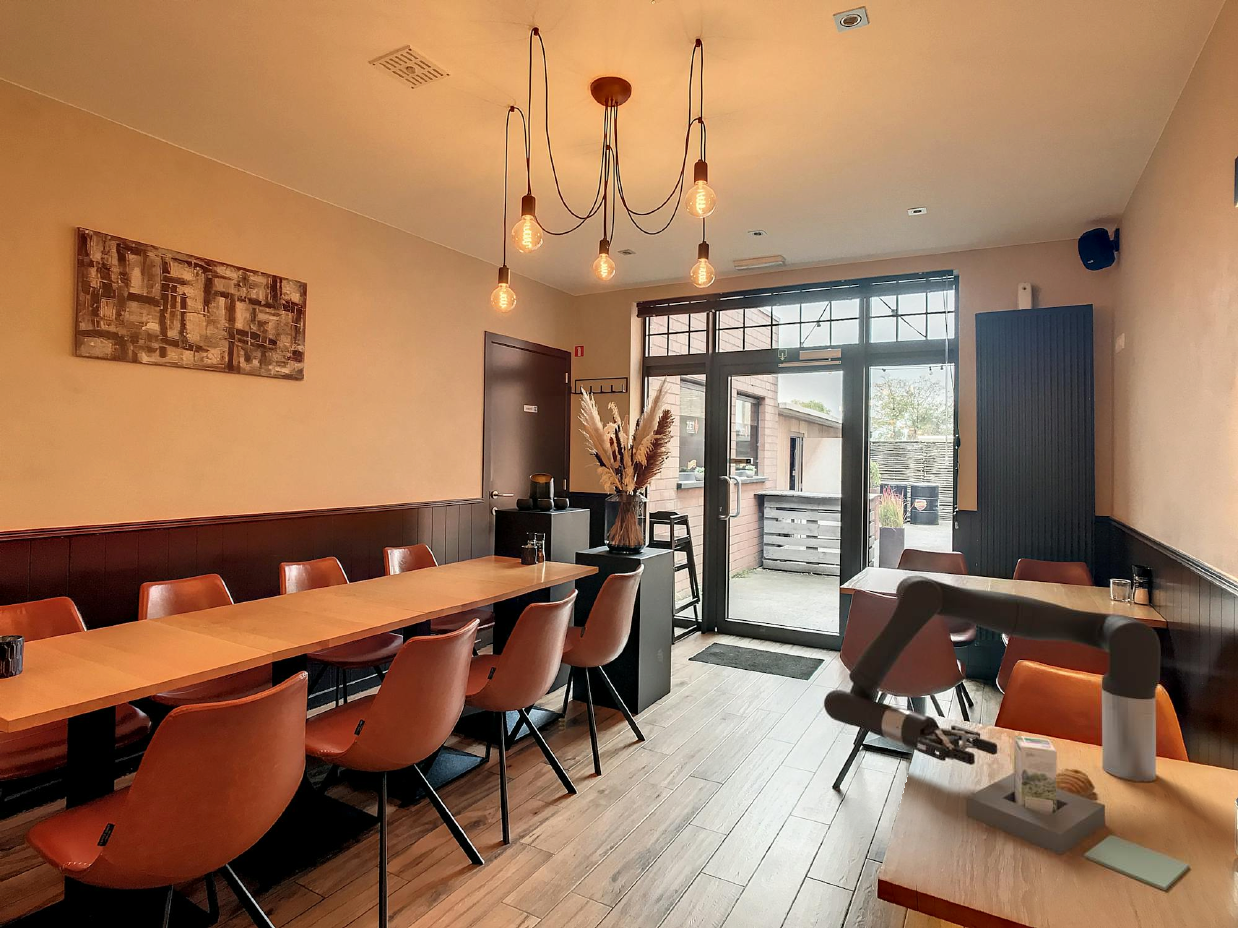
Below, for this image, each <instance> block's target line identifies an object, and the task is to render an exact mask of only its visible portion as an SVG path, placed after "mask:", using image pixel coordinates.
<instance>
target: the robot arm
mask: <svg viewBox="0 0 1238 928" xmlns="http://www.w3.org/2000/svg"><path fill="white" fill-rule="evenodd" d="M895 593H896V600H897V602H898V603H897V605H896V608H895V609H894V611H893V614H892V615H891V617H890V619H889V620H888V622H887V623H886V624H885V626H884V627H883V628H882V630H881V631H880V632H879V633H878V634H877V636H875V638H874V639H872V641H870V643H869V644H868V645H867V647H866V648H865V649H864V651H863V652H862V653H861V655H860V656H859V657H858V659H857V661H856V662H855V663H854V665H853V667H852V668H851V670H850V672H849V674H848V676H849V677H848V678H849V680H850V681H851V682H852V685H851V688H850V691H846V690H843V689H833V690H831V691H829V692H828V693H827V694H826V696H825V697H824V701H823V707H824V710H825V712H826V714H827V715H828V717H830V718H831V719H832V720H834V721H837V722H839V723H843V724H845V725H848V726H854V727H857V728H860V729H864V730H866V731H867V732H870V733H871V734H874V735H877V736H879V737H882V738H884V739H888V740H889V741H892V742H893V743H895V744H898V745H900V746H903V747H905V748H906V747H907V748H908V749H909V748H910V749H912V750H915V751H917V752H919V753H921V754H924V755H926V756H929V757H932V758H935V759H937V760H939V761H942V762H945V761H946V759H948V760H950V761H953V760H955V761H958V762H961V763H964V764H967V765H970V766H972V765H974V764H975V761H976V760H975V759H976V757H975V756H976V755H975V754H974V753H973V752H971V751H968V750H967V749H976V750H978V751H980V752H983V753H987V754H989V755H993V756H994V755H997V753H998V744H997V743H996V742H993V741H991V740H987V739H985V738H981V732H979V731H975V730H971V729H968V728H964V727H961V726H957V725H950V728H949V727H947V728H946V727H942V728H941V727H940V726H939V724H938V722H937V721H936V719H935V718H934V717H931V716H929V715H925V714H922V713H919V712H916V711H912V710H909V709H907V708H901V707H897V706H894V705H889V704H887V703H883V702H881V701H880V702H879V701H875V699H876V695H877V691H878V690H879V688H880V687H881V685H882V684H883V682H885V680H886V678H887V676H888V674H889V673H890V672H891V671H892V669H893V667H894V666H895V665H896V663H897V661H898V660H899V658H900V657H901V655H902V654H903V652H904V651H905V649H906V648H907V647H908V645H909V644H910V643H911V642H912V641H913V639H914V638H915V637H916V636H917V634H919V632H920V631H921V630H922V629H923V628H924V627H925V626H926V625H927V624H928V623H929V622H930V621H931V619H932V618H933V617H934V616H943V617H947V618H954V619H957V620H962V621H965V622H967V623H970V624H971V625H972V624H973V625H975V626H978V627H980V628H983V629H986V630H990V631H993V632H995V633H998V634H999V633H1000V634H1003V635H1006V636H1011V637H1016V638H1021V639H1026V640H1033V641H1042V642H1043V641H1044V642H1045V641H1046V642H1050V641H1051V642H1056V641H1057V642H1058V641H1059V642H1060V641H1061V642H1071V643H1075V644H1079V645H1083V646H1087V647H1091V648H1094V649H1097V650H1100V651H1103V652H1105V653H1108V670H1107V673H1104V675H1103V676H1102V678H1101V713H1102V714H1101V716H1102V717H1101V721H1102V723H1101V727H1102V728H1101V729H1102V730H1101V733H1102V734H1101V735H1102V736H1101V737H1102V738H1101V740H1102V741H1101V742H1102V745H1101V746H1102V751H1101V752H1102V753H1101V754H1102V756H1101V757H1102V760H1101V761H1102V764H1101V765H1102V769H1103V771H1105V772H1107V773H1109V774H1110V775H1113V776H1115V777H1118V778H1120V777H1121V779H1125V780H1129V781H1132V780H1135V781H1134V782H1140V781H1144V782H1145V783H1146V782H1148V781H1150V782H1153V781H1152V780H1154V781H1156V780H1157V774H1156V773H1157V735H1156V733H1157V732H1156V731H1157V729H1156V725H1157V724H1156V721H1157V720H1156V717H1157V716H1156V690H1157V688H1158V686H1159V683H1160V678H1161V676H1160V675H1161V658H1162V657H1161V642H1160V638H1159V635H1158V634H1157V632H1156V631H1155V630H1154V628H1153V627H1152V626H1150V625H1149V624H1147V623H1145V622H1142V621H1140V620H1138V619H1135V618H1133V617H1131V616H1129V615H1123V614H1115V613H1107V612H1106V613H1104V612H1103V613H1102V612H1097V611H1096V612H1094V611H1084V610H1078V609H1074V608H1070V607H1067V606H1064V605H1060V604H1057V603H1053V602H1049V601H1045V600H1042V599H1037V598H1033V597H1029V596H1028V597H1027V596H1023V595H1019V594H1013V593H1006V592H999V591H995V590H994V591H992V590H986V589H985V590H984V589H975V588H968V587H967V588H966V587H961V586H957V585H956V586H955V585H952V584H948V583H944V582H941V581H938V580H934V579H932V578H929V577H926V576H922V575H918V574H917V575H910V576H908V577H905V578H903V579H902V580H901V581H900V582H899V584H898V585H897V586H896V590H895ZM960 742H961V743H960ZM1144 782H1143V783H1144Z"/></svg>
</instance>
